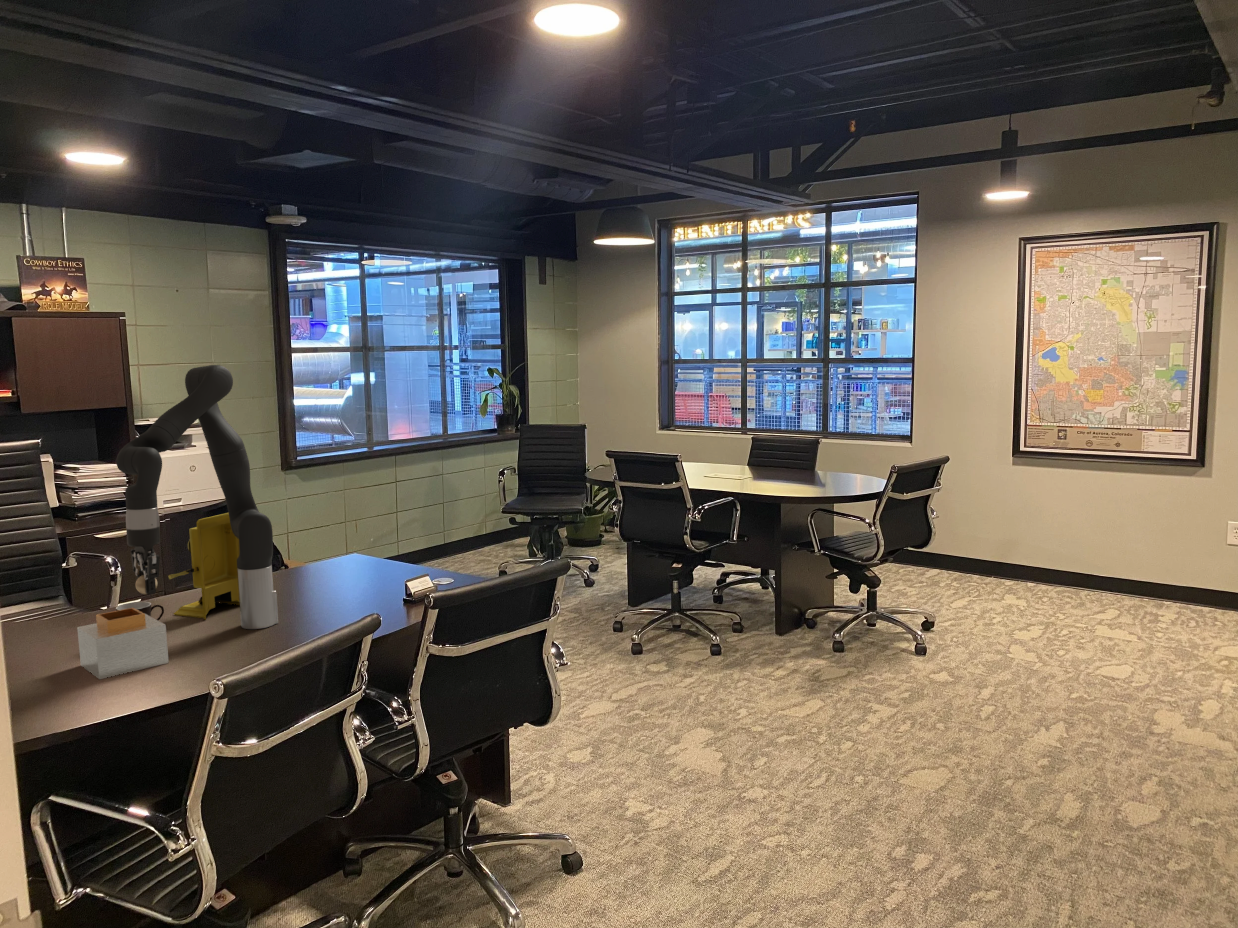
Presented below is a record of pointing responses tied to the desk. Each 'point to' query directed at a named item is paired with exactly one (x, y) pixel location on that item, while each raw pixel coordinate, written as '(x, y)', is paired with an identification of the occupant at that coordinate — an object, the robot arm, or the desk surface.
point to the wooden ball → (142, 584)
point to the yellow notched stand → (212, 565)
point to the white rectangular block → (122, 643)
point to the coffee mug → (141, 607)
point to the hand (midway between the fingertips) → (146, 591)
